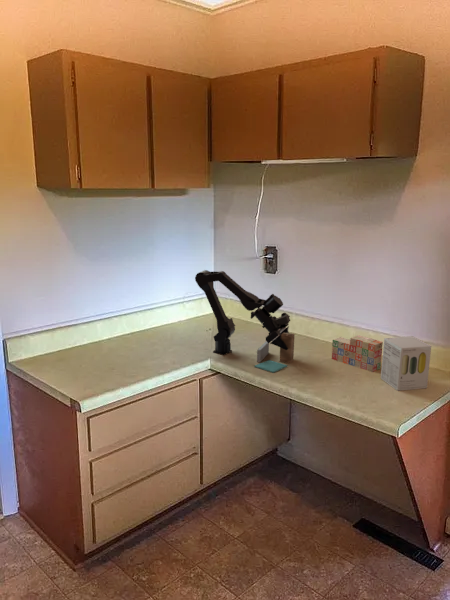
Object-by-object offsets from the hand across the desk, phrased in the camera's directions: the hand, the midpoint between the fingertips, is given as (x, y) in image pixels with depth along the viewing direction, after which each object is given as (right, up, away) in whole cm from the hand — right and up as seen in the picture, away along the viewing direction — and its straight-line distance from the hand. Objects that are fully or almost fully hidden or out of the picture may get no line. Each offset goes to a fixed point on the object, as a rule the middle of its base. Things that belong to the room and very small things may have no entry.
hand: (290, 346), depth 238 cm
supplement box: (+42, -13, -22) cm, 50 cm away
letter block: (-1, -6, +2) cm, 7 cm away
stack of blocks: (+29, -8, -1) cm, 30 cm away
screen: (-12, -5, +6) cm, 14 cm away
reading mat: (-9, -8, -6) cm, 13 cm away
